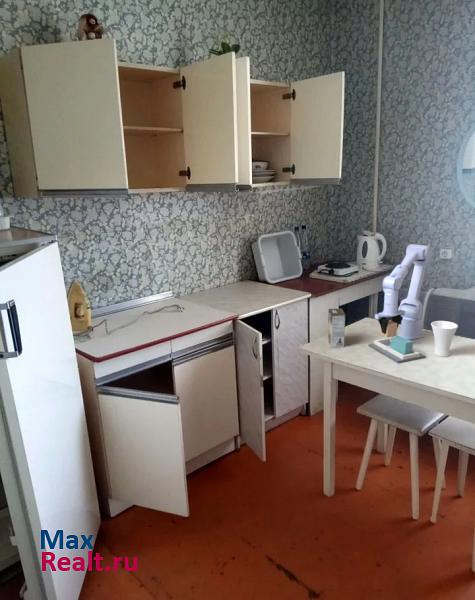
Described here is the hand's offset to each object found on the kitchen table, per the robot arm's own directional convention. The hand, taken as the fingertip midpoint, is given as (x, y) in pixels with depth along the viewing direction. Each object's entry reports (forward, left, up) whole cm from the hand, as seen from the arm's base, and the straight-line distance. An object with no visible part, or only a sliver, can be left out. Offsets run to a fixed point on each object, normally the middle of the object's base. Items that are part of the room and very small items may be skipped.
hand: (389, 332), depth 208 cm
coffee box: (+19, -14, -8) cm, 25 cm away
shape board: (0, +5, -8) cm, 9 cm away
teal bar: (0, +9, -6) cm, 11 cm away
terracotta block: (0, 0, -2) cm, 2 cm away
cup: (-16, +15, -8) cm, 24 cm away
